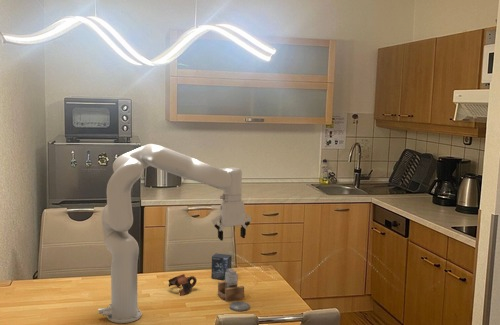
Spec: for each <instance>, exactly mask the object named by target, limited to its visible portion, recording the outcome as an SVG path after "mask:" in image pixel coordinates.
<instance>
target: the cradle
mask: <svg viewBox="0 0 500 325" xmlns="http://www.w3.org/2000/svg"><path fill="white" fill-rule="evenodd" d="M217 290H218V291H217V296H218V297H219V298H220V299H221V300H222V301H225V302H231V301H232V302H233V301H239V300H244V299H245V286H244V285H239V286H237V287H232V288H225V280H222V281H218V282H217Z"/></svg>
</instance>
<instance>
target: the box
mask: <svg viewBox="0 0 500 325" xmlns="http://www.w3.org/2000/svg"><path fill="white" fill-rule="evenodd" d="M232 257H233V256H232V254H226V253H225V254H224V253H217V252H216V253H215V254H213V255H212V256H211V279H214V280H222V281H225V272H227V269H229V268H232Z"/></svg>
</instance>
